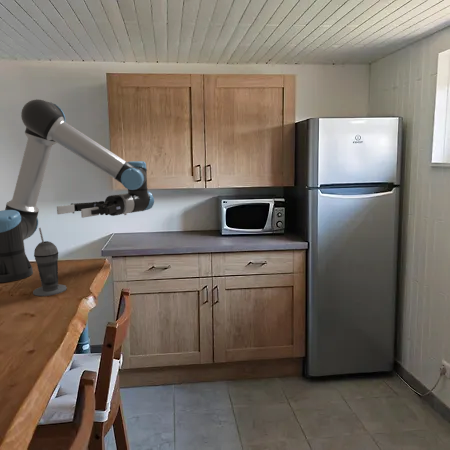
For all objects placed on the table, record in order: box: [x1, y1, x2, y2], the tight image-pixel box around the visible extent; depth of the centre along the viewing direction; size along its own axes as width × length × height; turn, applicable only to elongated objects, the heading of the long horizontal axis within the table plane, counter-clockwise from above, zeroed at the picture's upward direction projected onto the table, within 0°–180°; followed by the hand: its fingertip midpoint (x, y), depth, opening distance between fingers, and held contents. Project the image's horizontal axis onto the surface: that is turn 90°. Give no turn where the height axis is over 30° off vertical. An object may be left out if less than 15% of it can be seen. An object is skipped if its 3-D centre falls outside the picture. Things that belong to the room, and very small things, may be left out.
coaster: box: [32, 283, 68, 297], centre depth 145 cm, size 10×10×1 cm
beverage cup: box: [33, 227, 59, 292], centre depth 143 cm, size 7×7×20 cm
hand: (69, 211), depth 153 cm, fingers open, 13 cm apart
